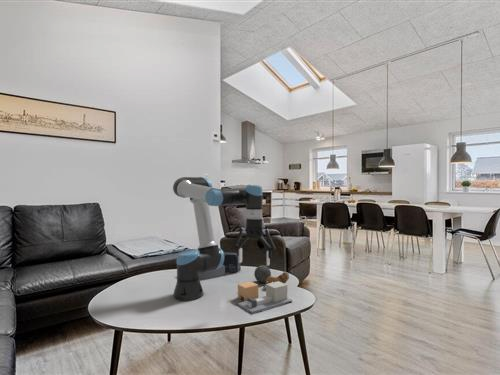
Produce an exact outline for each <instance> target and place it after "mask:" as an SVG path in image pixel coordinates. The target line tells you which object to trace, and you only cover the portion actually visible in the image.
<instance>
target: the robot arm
mask: <svg viewBox="0 0 500 375" xmlns="http://www.w3.org/2000/svg"><path fill="white" fill-rule="evenodd" d="M172 191H173V193H174V194H175V195H176V196H177V197H180V198H185V199H186V198H189V202H190V203H192V204H193V208H194V209H193V210H194V211H193V212H194V215H195V216H194V218H195V221H196V223H195V224H196V229H197V235H198V236H197V237H198V243H199V245H198V247H197V249H196V248H191V249H185V250H181V251H180V252H179V253H178V254H177V255H176V256H177V257H176V284H175V288H174V291H173V299H175V300H178V301H182V302H183V301H187V302H189V301H194V300H197V299H199V298H202V297H203V296H204V290H203V286H202V284H201V280H199V274H200V273H204V272H208V271H213V270H216V269H219V268H220V267H221V266H222V265H223V263H224V253H223V252H224V250H223V249H222V248H220V247H219V244H218V243H216V242H215V235H214V229H213V223H212V216H211V211H210V207H219V206H237V205H241V206H242V205H245V206H246V207H245V211H246V212H245V213H246V214H245V217H246V220H245V227H240V228H239V230H238V231H239V233H238V235H237V236H236V238H235V240H234V243H233V244H232V246H233V248H235V249H236V253H237V255H239V263H241V264H242V263H243V248H242V246H243V245H244V244H245V243H246V242H247V240H249V238H250V239H258V240H260V242H261V243H262V245H263V246H264V247H265V249H266V266H267V267H269V266H270V264H271V263H270V262H271V260H270V259H271V258H272V257H273V256H272V255H273V251H275V250H276V249H277V247H276V245H275V243H274V240H273V237H271V234H270V229H269V228H266V229H264V228H263V219H262V218H263V195H264V194H263V187H262V185H259V184H249V185H246V187H245V189H243V188H230V189H229V188H227V189H226V188H225V189H224V188H223V189H222V188H221V189H220V188H216V187H213V184H212V182H211V180H210V179H209V178H207V177H201V176H199V177H195V176H193V177H192V176H190V177H189V176H184V177H180V178H177V179H176V180H175V181H174V183H173V185H172ZM244 233H246V235H245V236H244V237H243V239H242V236H243V235H244ZM263 234H264V235H265V236H264V235H263ZM265 237H266V239H265ZM241 239H242V240H241ZM267 241H268V242H267Z"/></svg>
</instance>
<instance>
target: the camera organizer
mask: <svg viewBox="0 0 500 375" xmlns="http://www.w3.org/2000/svg"><path fill="white" fill-rule="evenodd" d="M224 276H226V272H225V266H224V265H222V266H221V267H220V268H219V269H216V270H213V271H208V272H204V273H200V274H199V280H200V281H202V280H203V281H205V280H209V279H212V278H213V279H215V278H219V277H224Z"/></svg>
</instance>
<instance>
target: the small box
mask: <svg viewBox="0 0 500 375" xmlns="http://www.w3.org/2000/svg"><path fill="white" fill-rule="evenodd" d="M223 253H224V263H223V265H224V266H225V273H234V272H238V273H240V271H241V268H242V267H241V265H242V262H241V263H239V255H237V252H224V251H223Z"/></svg>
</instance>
